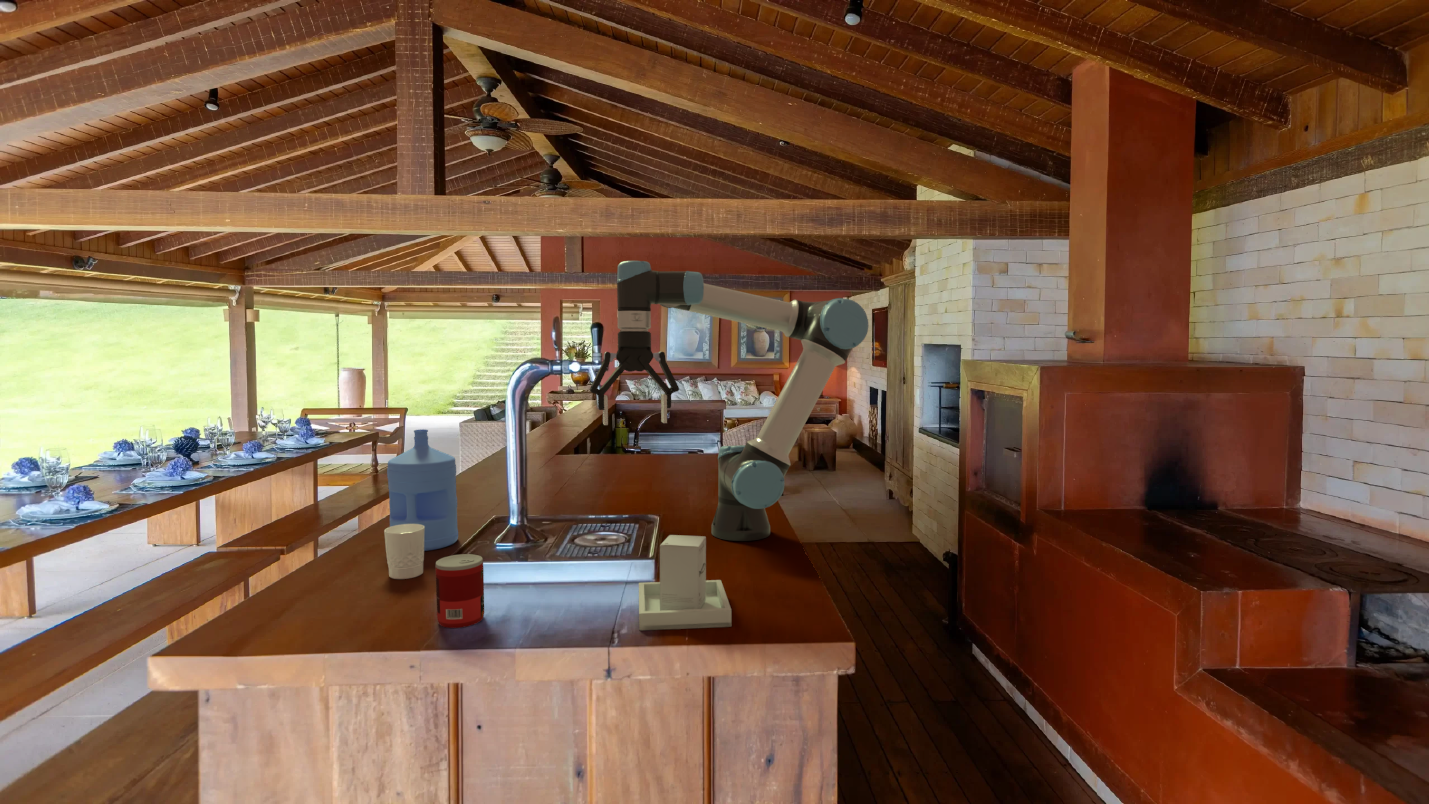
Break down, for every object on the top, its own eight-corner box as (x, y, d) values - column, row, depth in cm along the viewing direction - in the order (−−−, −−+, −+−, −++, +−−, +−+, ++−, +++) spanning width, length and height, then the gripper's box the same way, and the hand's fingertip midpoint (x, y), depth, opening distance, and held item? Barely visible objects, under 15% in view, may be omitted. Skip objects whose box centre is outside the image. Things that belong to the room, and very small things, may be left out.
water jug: (407, 534, 187) (403, 426, 185) (468, 535, 187) (465, 426, 184) (377, 552, 172) (372, 434, 169) (443, 553, 171) (439, 434, 169)
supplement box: (698, 615, 130) (698, 546, 129) (658, 613, 132) (658, 544, 130) (707, 601, 137) (707, 535, 136) (668, 598, 139) (668, 533, 138)
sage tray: (638, 597, 142) (638, 582, 141) (720, 594, 143) (720, 579, 143) (639, 630, 126) (639, 613, 125) (731, 626, 127) (731, 609, 127)
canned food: (492, 620, 130) (490, 560, 129) (448, 632, 125) (446, 569, 124) (472, 608, 136) (470, 551, 135) (430, 620, 130) (428, 560, 129)
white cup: (390, 582, 150) (389, 535, 149) (382, 573, 156) (380, 527, 156) (430, 575, 155) (428, 529, 154) (420, 566, 161) (419, 521, 160)
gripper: (580, 330, 158) (581, 427, 160) (691, 330, 165) (691, 423, 167) (577, 330, 166) (578, 423, 167) (683, 330, 173) (684, 420, 174)
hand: (635, 423), depth 167 cm, fingers open, 13 cm apart
